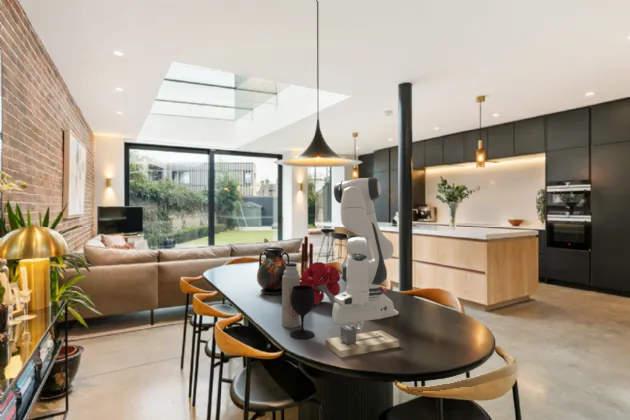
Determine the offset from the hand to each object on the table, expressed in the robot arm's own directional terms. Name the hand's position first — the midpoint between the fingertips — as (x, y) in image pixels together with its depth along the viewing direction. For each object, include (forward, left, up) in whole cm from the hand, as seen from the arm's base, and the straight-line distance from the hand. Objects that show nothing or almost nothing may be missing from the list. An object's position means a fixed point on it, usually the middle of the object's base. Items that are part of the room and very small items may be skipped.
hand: (356, 332), depth 134 cm
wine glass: (+14, -20, -6) cm, 26 cm away
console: (-3, 0, -6) cm, 6 cm away
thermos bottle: (+14, -34, -6) cm, 38 cm away
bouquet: (-13, -59, -6) cm, 60 cm away
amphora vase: (+3, -94, -6) cm, 94 cm away
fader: (+4, 0, -3) cm, 5 cm away
